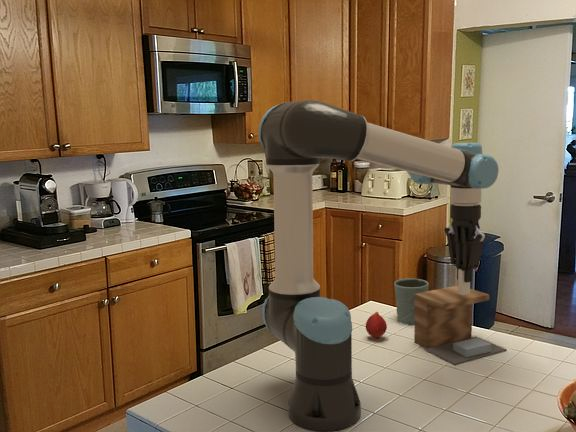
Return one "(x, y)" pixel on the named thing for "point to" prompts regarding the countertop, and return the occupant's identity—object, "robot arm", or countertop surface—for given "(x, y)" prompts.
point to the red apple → (376, 325)
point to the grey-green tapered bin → (408, 298)
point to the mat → (456, 358)
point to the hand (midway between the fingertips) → (463, 293)
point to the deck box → (471, 347)
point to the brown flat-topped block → (444, 316)
